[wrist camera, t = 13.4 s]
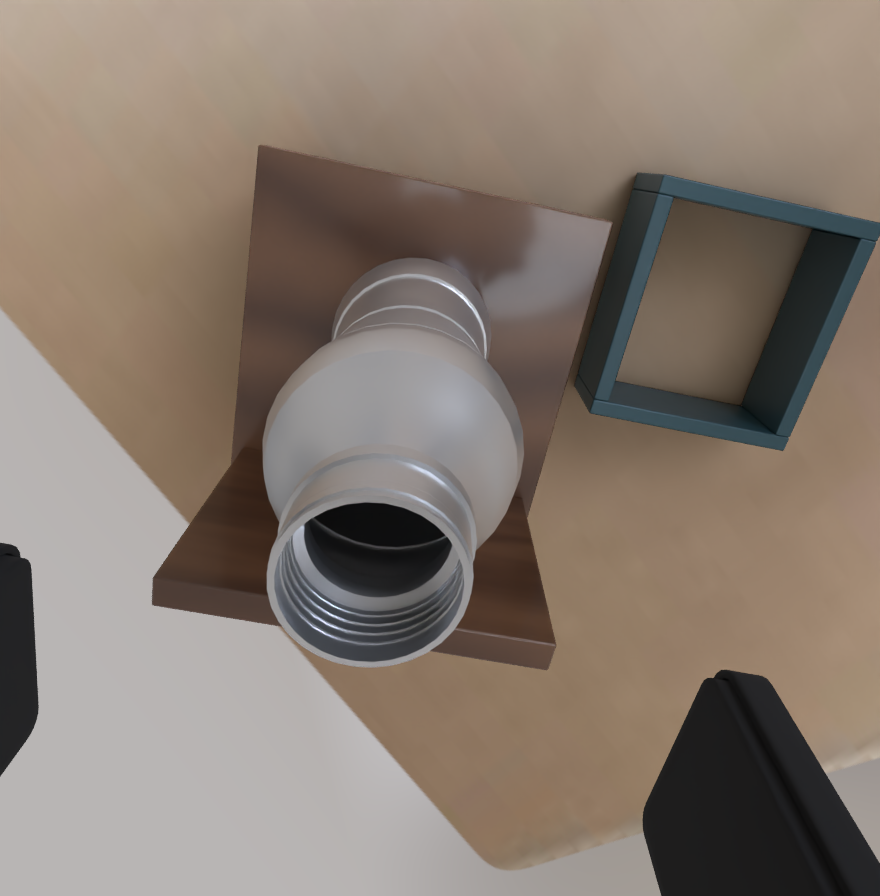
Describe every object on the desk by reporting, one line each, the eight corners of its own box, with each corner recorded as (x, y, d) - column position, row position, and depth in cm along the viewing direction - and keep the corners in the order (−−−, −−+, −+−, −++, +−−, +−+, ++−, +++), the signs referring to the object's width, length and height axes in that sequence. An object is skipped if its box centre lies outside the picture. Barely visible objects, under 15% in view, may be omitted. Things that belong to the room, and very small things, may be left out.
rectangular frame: (637, 171, 34) (664, 174, 30) (832, 216, 35) (885, 224, 31) (573, 386, 38) (589, 413, 34) (748, 420, 39) (783, 451, 35)
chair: (293, 146, 34) (148, 136, 17) (582, 210, 35) (708, 258, 18) (264, 420, 39) (135, 610, 23) (512, 467, 41) (559, 680, 24)
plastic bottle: (310, 329, 30) (102, 596, 12) (413, 214, 28) (355, 321, 10) (415, 422, 32) (376, 780, 14) (518, 320, 30) (638, 578, 12)
